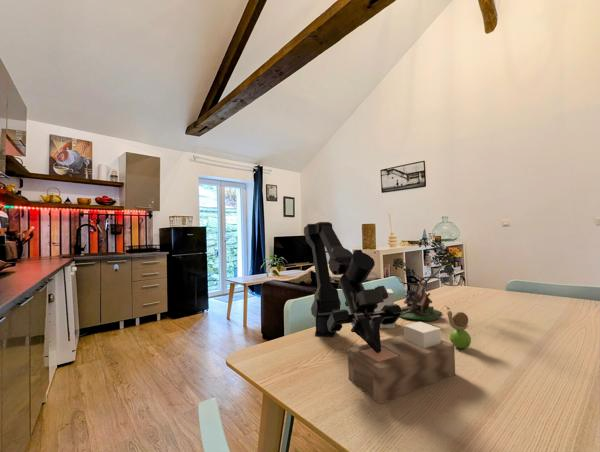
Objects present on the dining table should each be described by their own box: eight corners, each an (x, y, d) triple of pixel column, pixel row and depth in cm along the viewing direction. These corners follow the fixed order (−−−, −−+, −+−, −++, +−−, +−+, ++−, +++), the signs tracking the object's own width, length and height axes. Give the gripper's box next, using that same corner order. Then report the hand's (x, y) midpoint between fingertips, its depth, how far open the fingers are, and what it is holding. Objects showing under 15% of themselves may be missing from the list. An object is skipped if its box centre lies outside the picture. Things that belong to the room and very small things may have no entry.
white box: (424, 362, 65) (423, 333, 65) (404, 352, 70) (403, 325, 70) (441, 357, 67) (440, 328, 68) (420, 348, 73) (419, 321, 73)
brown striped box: (380, 403, 55) (379, 368, 56) (348, 378, 65) (347, 349, 65) (455, 373, 66) (454, 344, 66) (418, 356, 76) (417, 330, 76)
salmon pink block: (379, 394, 58) (378, 361, 58) (360, 381, 64) (360, 350, 64) (399, 387, 61) (398, 355, 61) (380, 374, 66) (379, 345, 66)
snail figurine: (442, 344, 83) (441, 304, 83) (462, 343, 84) (461, 304, 84) (454, 352, 78) (453, 309, 78) (475, 351, 78) (474, 309, 78)
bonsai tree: (444, 334, 91) (441, 239, 92) (380, 317, 109) (378, 238, 110) (478, 312, 114) (476, 236, 115) (420, 301, 132) (419, 236, 133)
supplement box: (395, 328, 97) (394, 292, 97) (373, 327, 99) (372, 292, 99) (392, 321, 104) (391, 288, 105) (372, 320, 106) (371, 288, 106)
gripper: (330, 277, 65) (353, 341, 54) (397, 272, 71) (430, 330, 60) (319, 302, 73) (337, 363, 62) (380, 296, 78) (407, 351, 67)
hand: (379, 351), depth 62 cm, fingers closed, pressing on salmon pink block
